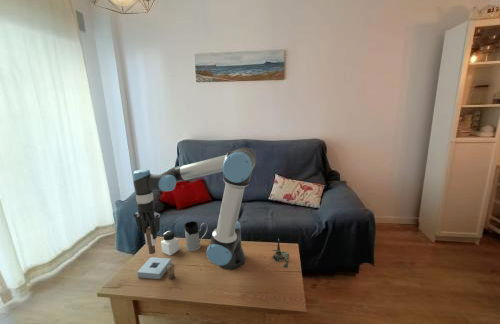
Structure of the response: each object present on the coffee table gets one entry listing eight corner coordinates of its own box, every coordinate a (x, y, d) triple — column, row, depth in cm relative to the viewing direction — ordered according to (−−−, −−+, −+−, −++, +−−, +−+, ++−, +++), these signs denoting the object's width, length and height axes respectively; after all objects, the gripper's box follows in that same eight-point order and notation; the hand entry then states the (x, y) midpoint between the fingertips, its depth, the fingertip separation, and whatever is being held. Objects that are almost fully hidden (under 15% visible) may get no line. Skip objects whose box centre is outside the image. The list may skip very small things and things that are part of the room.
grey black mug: (184, 245, 145) (181, 223, 142) (206, 238, 152) (204, 217, 148) (187, 252, 138) (185, 229, 134) (211, 245, 144) (209, 223, 141)
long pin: (156, 251, 123) (153, 226, 120) (153, 254, 120) (150, 229, 117) (151, 250, 123) (148, 226, 120) (148, 254, 121) (144, 229, 117)
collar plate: (171, 263, 129) (170, 258, 128) (160, 279, 117) (159, 273, 117) (151, 262, 131) (150, 257, 130) (138, 277, 119) (137, 272, 119)
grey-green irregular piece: (288, 269, 122) (288, 246, 119) (268, 267, 124) (268, 244, 121) (289, 252, 136) (289, 230, 133) (271, 250, 138) (271, 229, 135)
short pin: (175, 275, 120) (174, 264, 118) (172, 279, 117) (171, 268, 115) (170, 274, 120) (168, 264, 119) (167, 279, 117) (165, 268, 116)
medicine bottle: (179, 249, 141) (177, 231, 139) (170, 256, 136) (167, 237, 133) (171, 246, 145) (169, 228, 142) (162, 252, 139) (159, 233, 137)
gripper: (164, 198, 118) (169, 241, 123) (135, 197, 120) (141, 239, 126) (155, 204, 110) (161, 249, 116) (125, 203, 113) (132, 247, 118)
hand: (151, 244), depth 121 cm, fingers closed on long pin, 2 cm apart
